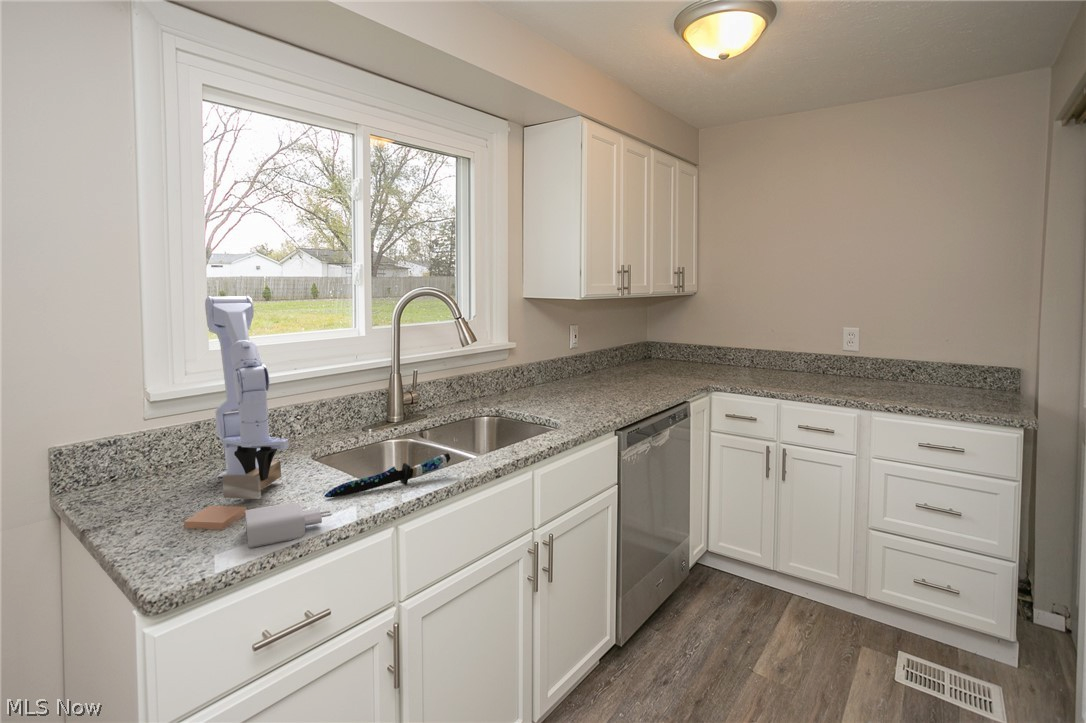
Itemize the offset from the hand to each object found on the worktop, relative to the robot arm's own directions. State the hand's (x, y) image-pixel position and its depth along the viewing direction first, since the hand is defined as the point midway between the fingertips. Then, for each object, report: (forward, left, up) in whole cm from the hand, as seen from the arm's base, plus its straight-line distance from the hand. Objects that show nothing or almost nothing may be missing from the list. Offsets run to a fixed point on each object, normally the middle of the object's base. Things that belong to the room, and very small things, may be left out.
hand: (257, 479), depth 131 cm
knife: (-8, +28, -4) cm, 29 cm away
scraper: (0, 0, -2) cm, 2 cm away
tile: (+11, 0, -3) cm, 11 cm away
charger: (+18, +17, -4) cm, 26 cm away
